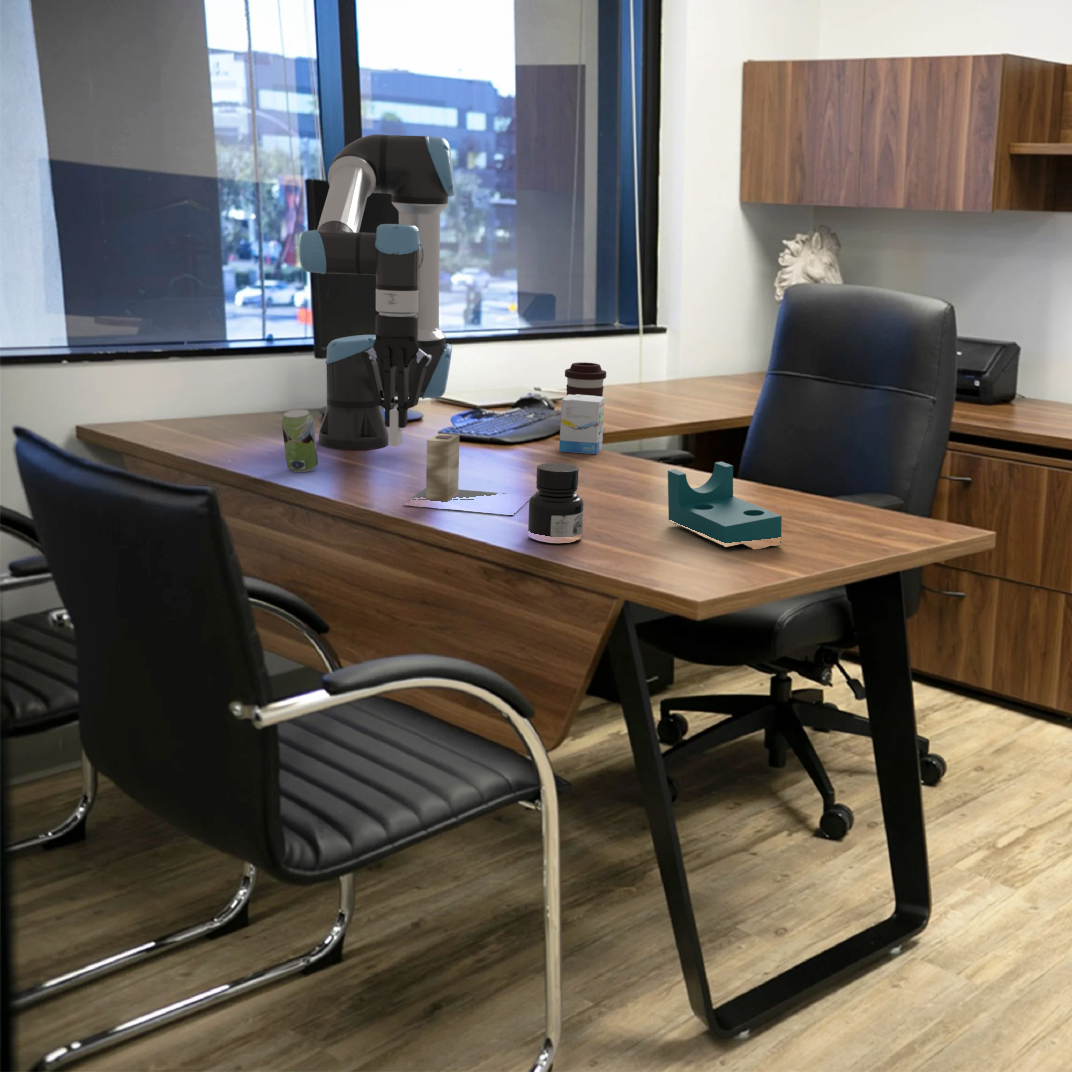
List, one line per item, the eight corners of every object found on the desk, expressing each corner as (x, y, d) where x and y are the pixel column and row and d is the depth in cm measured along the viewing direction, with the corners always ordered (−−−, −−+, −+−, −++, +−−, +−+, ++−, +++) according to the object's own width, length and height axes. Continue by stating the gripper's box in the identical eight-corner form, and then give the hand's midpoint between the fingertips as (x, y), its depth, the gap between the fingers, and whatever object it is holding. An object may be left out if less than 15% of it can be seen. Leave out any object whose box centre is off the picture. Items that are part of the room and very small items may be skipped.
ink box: (596, 455, 283) (599, 401, 280) (558, 452, 285) (560, 399, 282) (602, 447, 291) (605, 395, 288) (565, 445, 293) (567, 393, 290)
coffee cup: (556, 427, 314) (559, 364, 310) (571, 421, 323) (573, 360, 319) (595, 431, 310) (598, 368, 306) (609, 425, 319) (612, 363, 315)
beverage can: (323, 469, 260) (323, 409, 257) (305, 476, 253) (304, 414, 250) (295, 465, 262) (294, 406, 258) (276, 472, 255) (275, 411, 252)
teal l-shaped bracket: (668, 529, 227) (667, 470, 223) (721, 519, 231) (721, 461, 228) (725, 556, 211) (725, 494, 208) (781, 545, 215) (781, 483, 212)
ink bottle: (562, 549, 209) (565, 476, 206) (516, 539, 213) (518, 468, 210) (592, 537, 217) (596, 466, 214) (547, 528, 221) (550, 458, 218)
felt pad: (404, 506, 233) (404, 503, 233) (427, 489, 246) (427, 486, 246) (513, 515, 229) (513, 513, 228) (531, 498, 242) (531, 495, 242)
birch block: (426, 500, 235) (426, 439, 232) (437, 492, 242) (438, 432, 239) (447, 502, 234) (448, 441, 232) (458, 493, 241) (459, 434, 238)
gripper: (354, 313, 229) (354, 445, 235) (425, 317, 227) (423, 451, 233) (369, 310, 236) (368, 438, 242) (438, 314, 234) (436, 444, 240)
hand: (395, 444), depth 238 cm, fingers closed
